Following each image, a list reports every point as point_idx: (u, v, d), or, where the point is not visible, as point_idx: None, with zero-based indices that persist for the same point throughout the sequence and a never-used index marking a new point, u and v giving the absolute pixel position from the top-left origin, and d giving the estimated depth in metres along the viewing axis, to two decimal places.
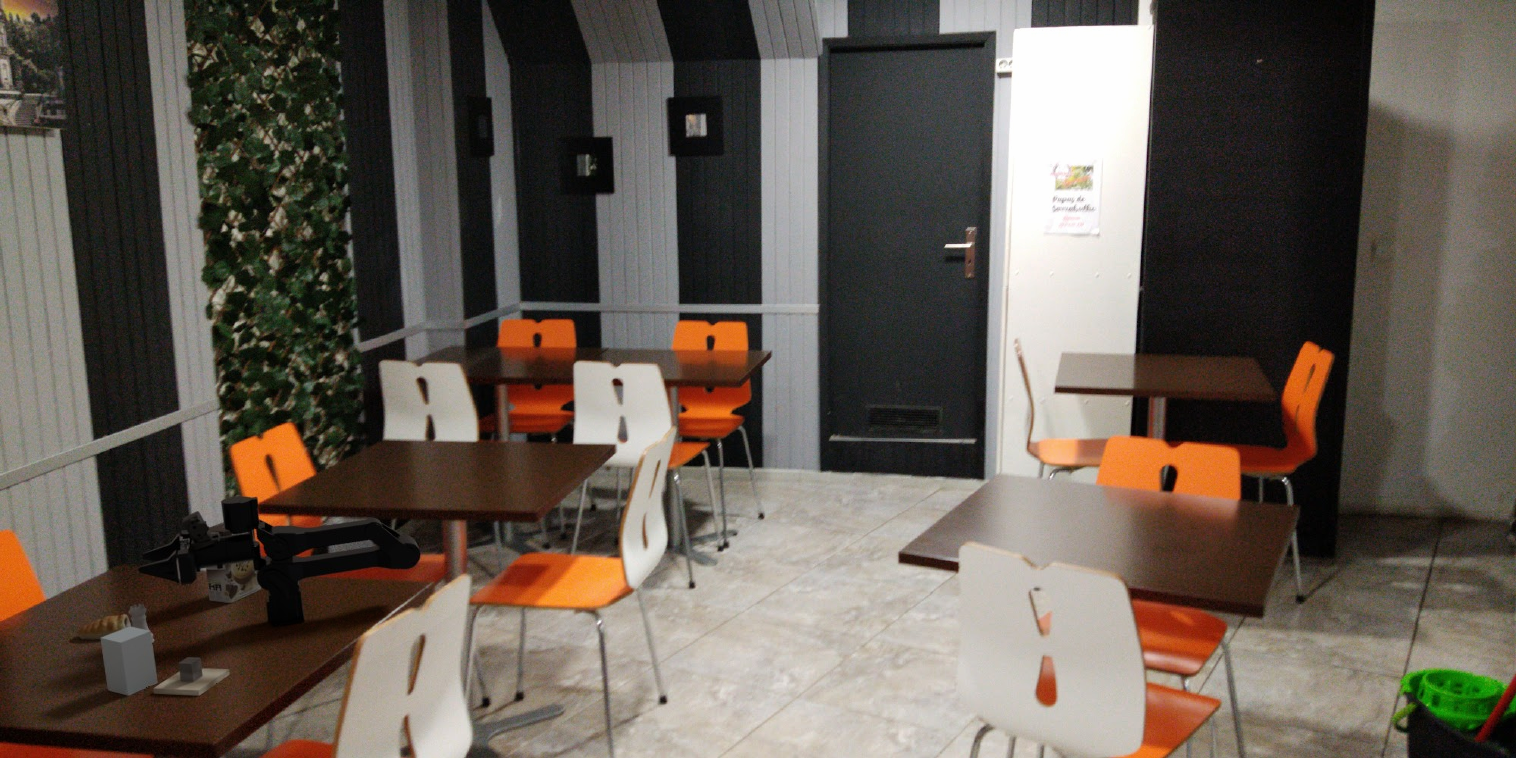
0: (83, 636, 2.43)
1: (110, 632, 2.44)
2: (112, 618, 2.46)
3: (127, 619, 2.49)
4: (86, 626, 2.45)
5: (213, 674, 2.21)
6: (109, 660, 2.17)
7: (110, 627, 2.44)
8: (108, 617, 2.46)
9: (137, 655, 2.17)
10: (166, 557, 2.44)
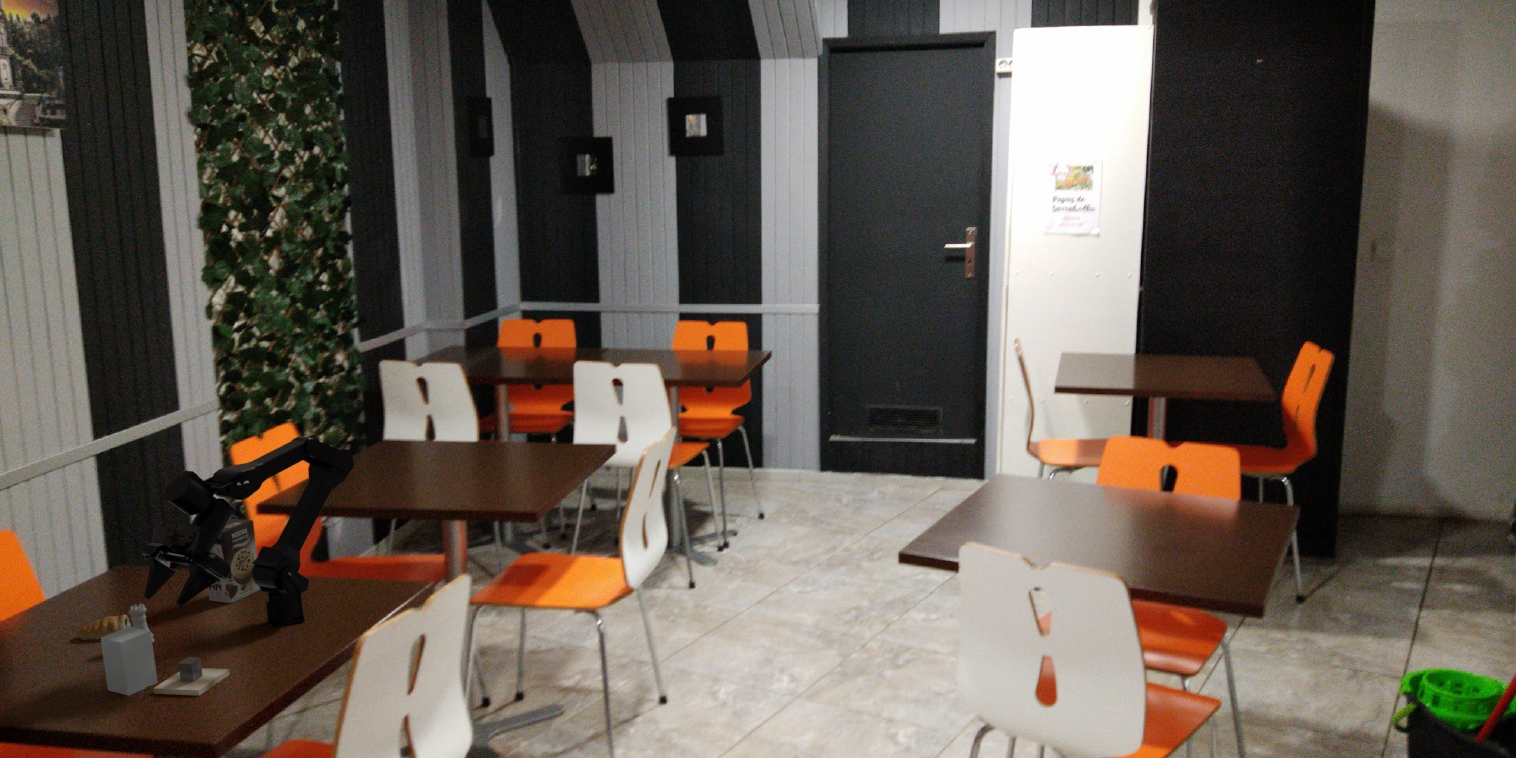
0: (83, 636, 2.43)
1: (110, 632, 2.44)
2: (112, 618, 2.46)
3: (127, 619, 2.49)
4: (86, 626, 2.44)
5: (213, 674, 2.21)
6: (109, 660, 2.17)
7: (111, 627, 2.44)
8: (108, 617, 2.46)
9: (137, 655, 2.17)
10: (161, 579, 2.30)
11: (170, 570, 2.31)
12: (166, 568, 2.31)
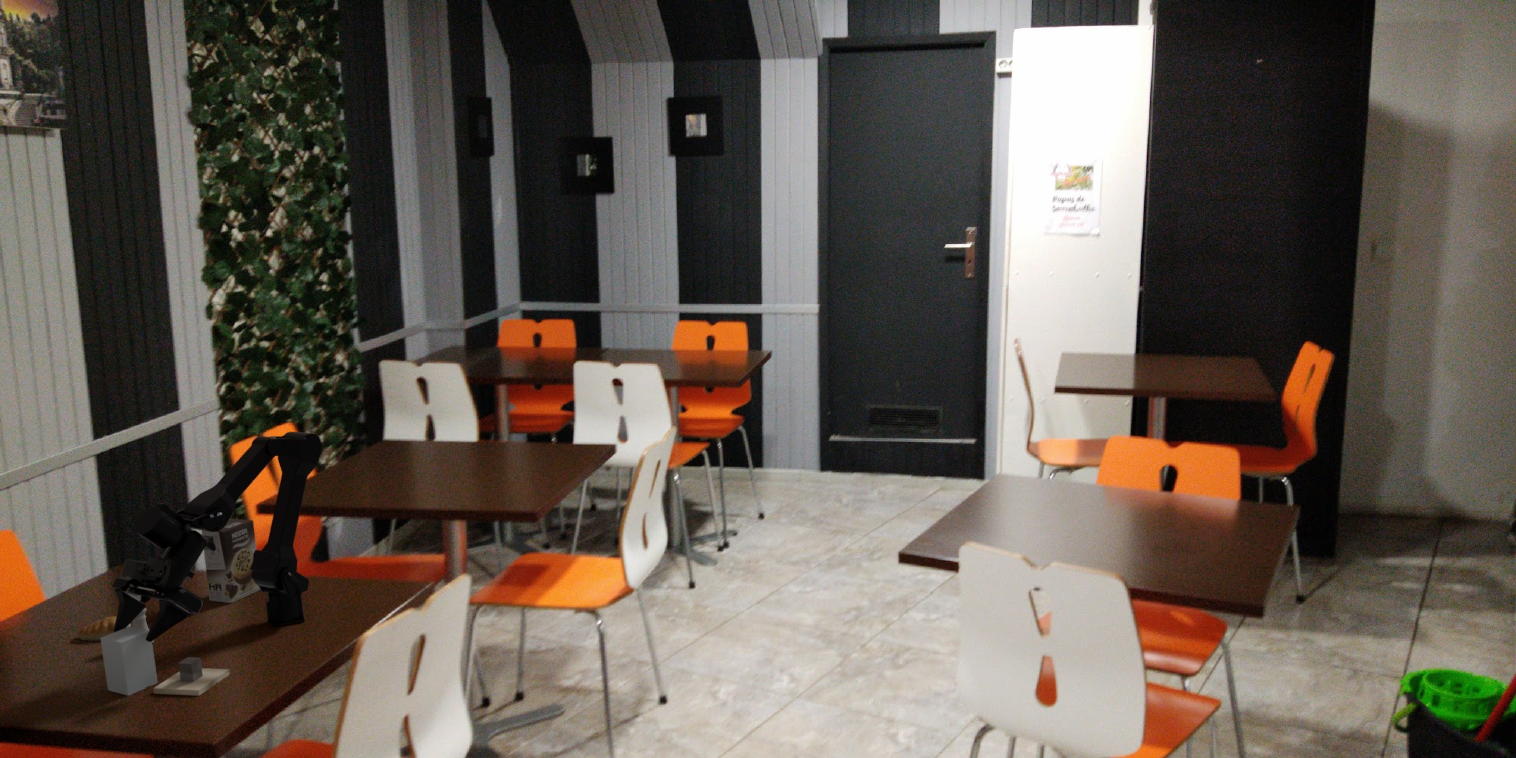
0: (83, 637, 2.43)
1: (111, 633, 2.43)
2: (112, 619, 2.45)
3: None
4: (86, 627, 2.44)
5: (213, 674, 2.21)
6: (109, 660, 2.17)
7: (111, 628, 2.43)
8: (108, 618, 2.46)
9: (137, 655, 2.17)
10: (132, 614, 2.24)
11: (141, 604, 2.26)
12: (137, 602, 2.26)
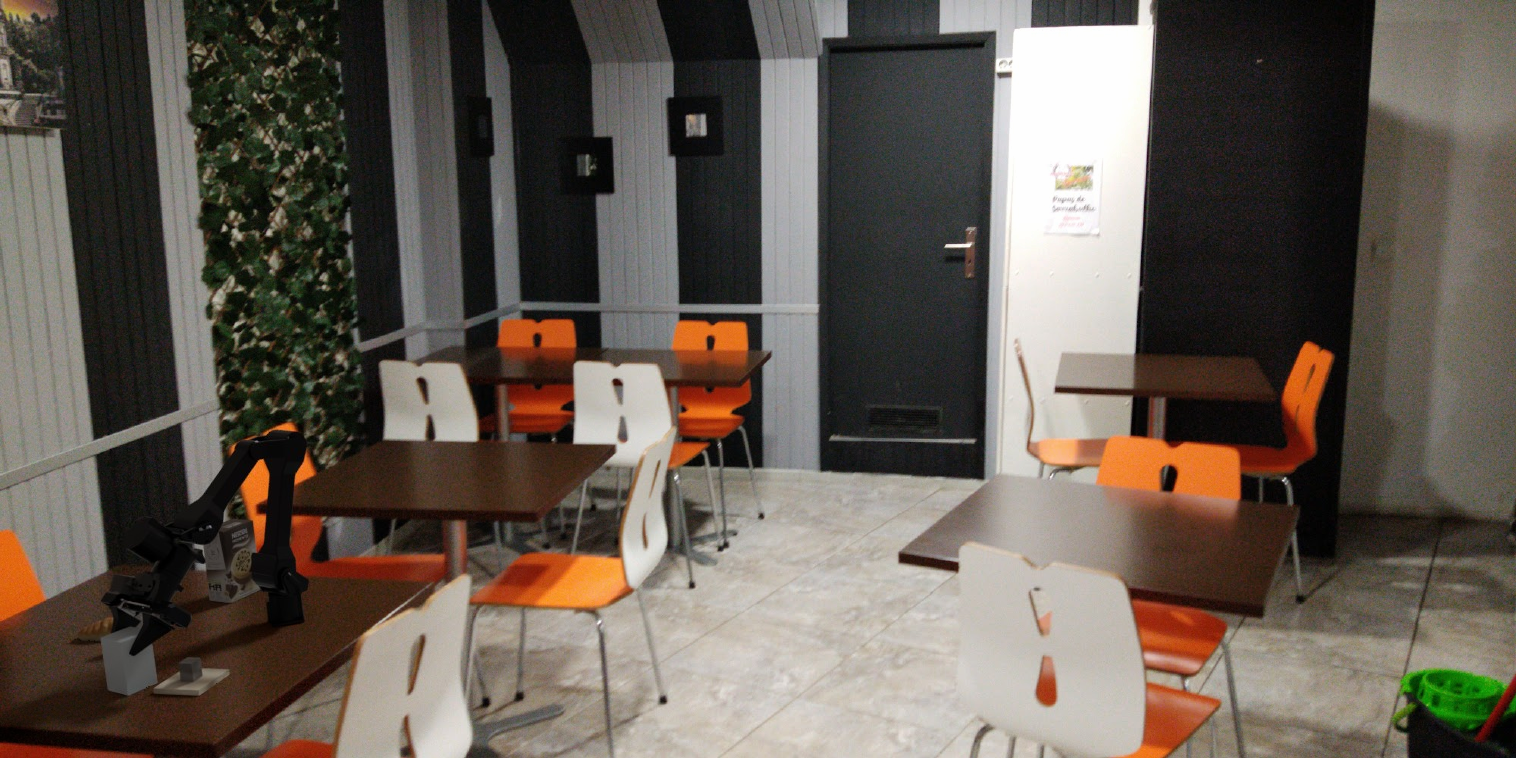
0: (84, 637, 2.43)
1: None
2: None
3: None
4: (86, 628, 2.44)
5: (213, 674, 2.21)
6: (109, 660, 2.17)
7: (111, 628, 2.43)
8: (108, 618, 2.46)
9: (137, 655, 2.17)
10: None
11: (135, 620, 2.24)
12: (131, 618, 2.23)
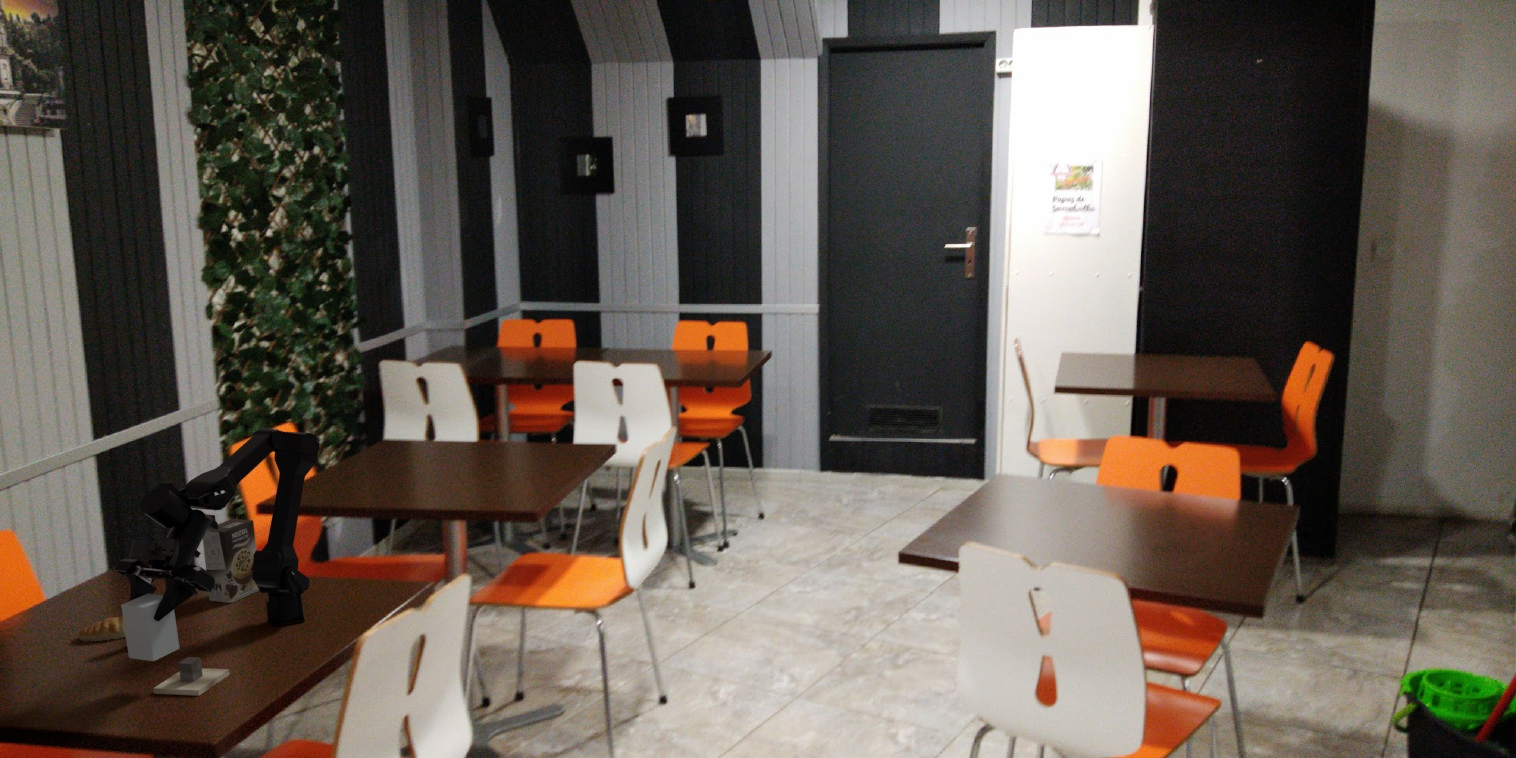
0: (84, 638, 2.42)
1: (112, 634, 2.43)
2: (113, 620, 2.45)
3: None
4: (87, 628, 2.43)
5: (213, 674, 2.21)
6: (131, 627, 2.15)
7: (112, 628, 2.43)
8: (109, 619, 2.45)
9: (161, 620, 2.16)
10: None
11: (152, 587, 2.22)
12: (148, 585, 2.21)
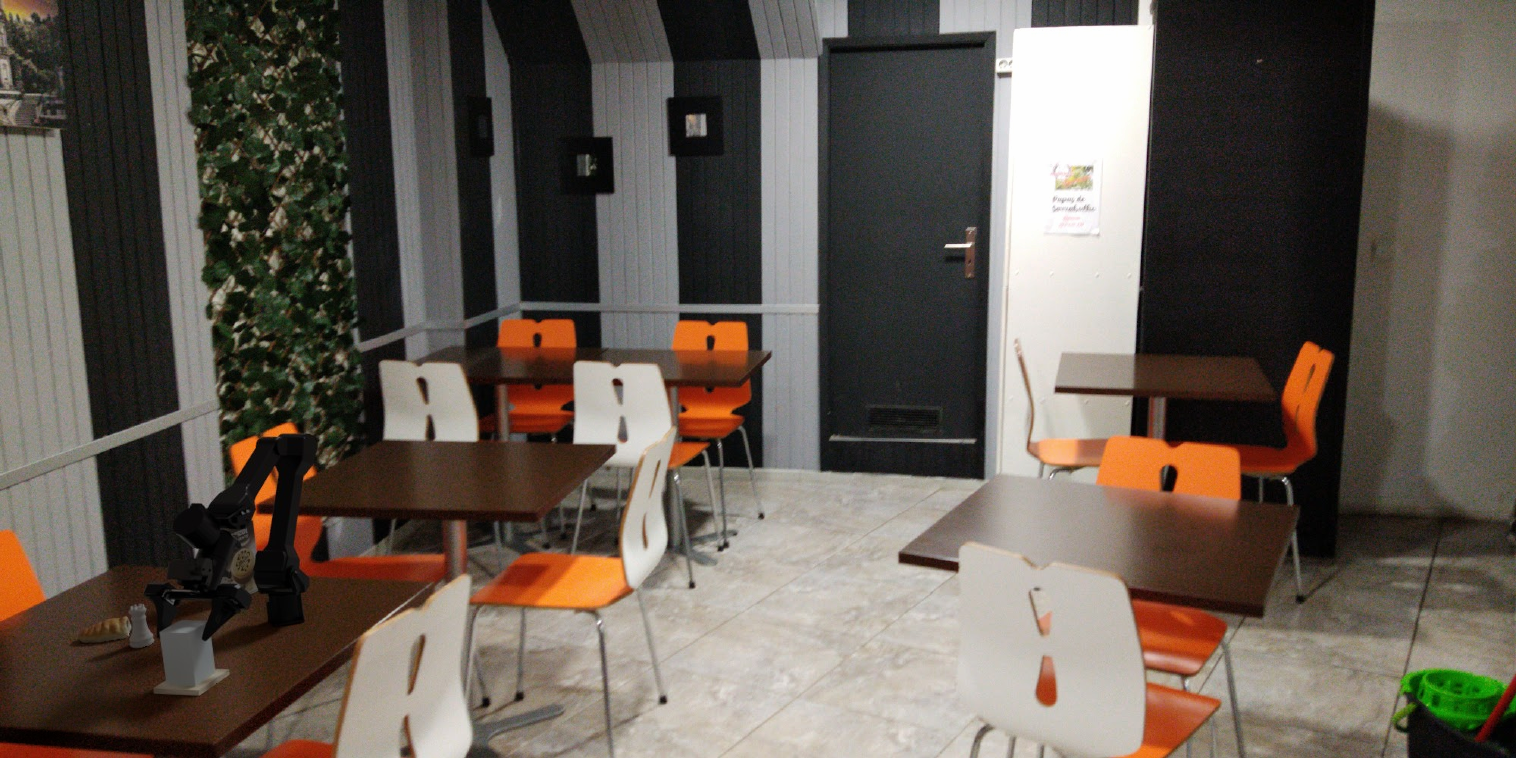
0: (85, 639, 2.42)
1: (113, 634, 2.43)
2: (114, 620, 2.44)
3: (128, 621, 2.48)
4: (87, 629, 2.43)
5: (213, 674, 2.21)
6: (171, 653, 2.16)
7: (113, 629, 2.42)
8: (109, 620, 2.45)
9: (200, 645, 2.18)
10: (169, 618, 2.21)
11: (175, 608, 2.23)
12: (172, 606, 2.22)
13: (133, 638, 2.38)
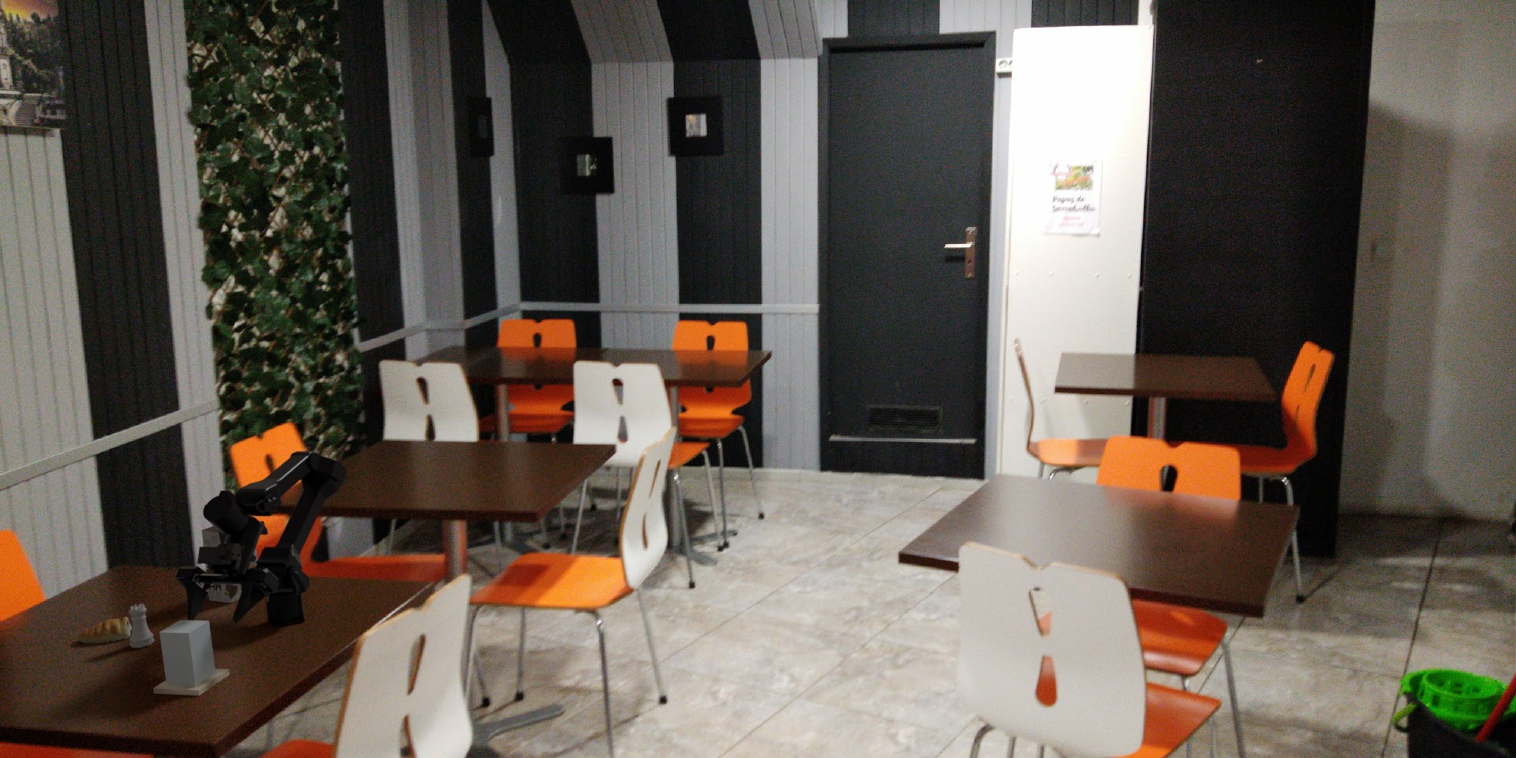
0: (85, 640, 2.41)
1: (114, 635, 2.42)
2: (114, 621, 2.44)
3: (128, 622, 2.47)
4: (88, 630, 2.42)
5: (213, 674, 2.21)
6: (171, 653, 2.16)
7: (114, 630, 2.42)
8: (110, 620, 2.45)
9: (200, 645, 2.18)
10: (199, 601, 2.30)
11: (204, 592, 2.32)
12: (201, 590, 2.31)
13: (133, 638, 2.38)
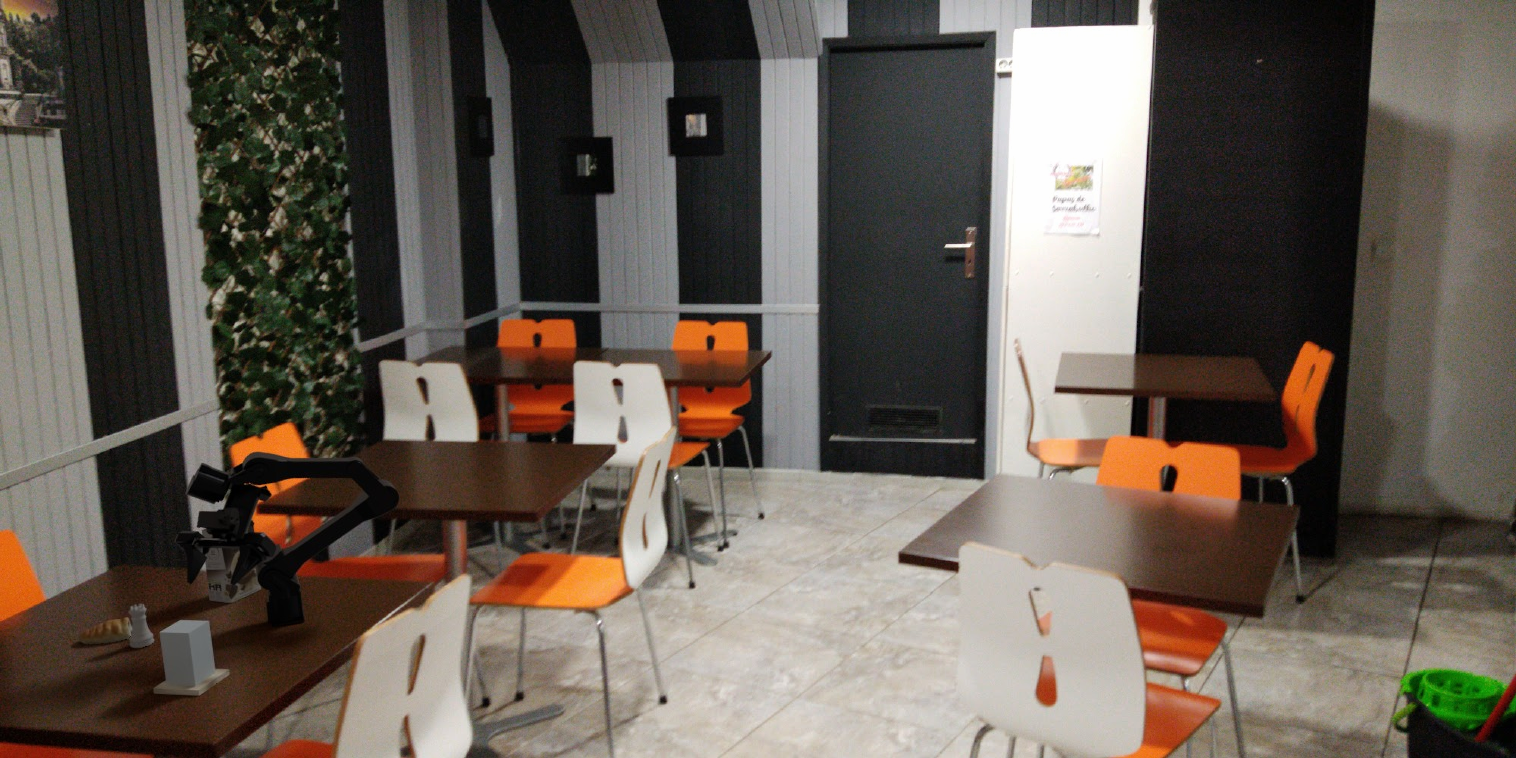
0: (86, 640, 2.41)
1: (115, 635, 2.42)
2: (115, 621, 2.44)
3: (129, 622, 2.47)
4: (89, 631, 2.42)
5: (213, 674, 2.21)
6: (171, 653, 2.16)
7: (115, 630, 2.42)
8: (110, 621, 2.44)
9: (200, 645, 2.18)
10: (199, 565, 2.37)
11: (203, 556, 2.39)
12: (201, 554, 2.38)
13: (133, 638, 2.38)
